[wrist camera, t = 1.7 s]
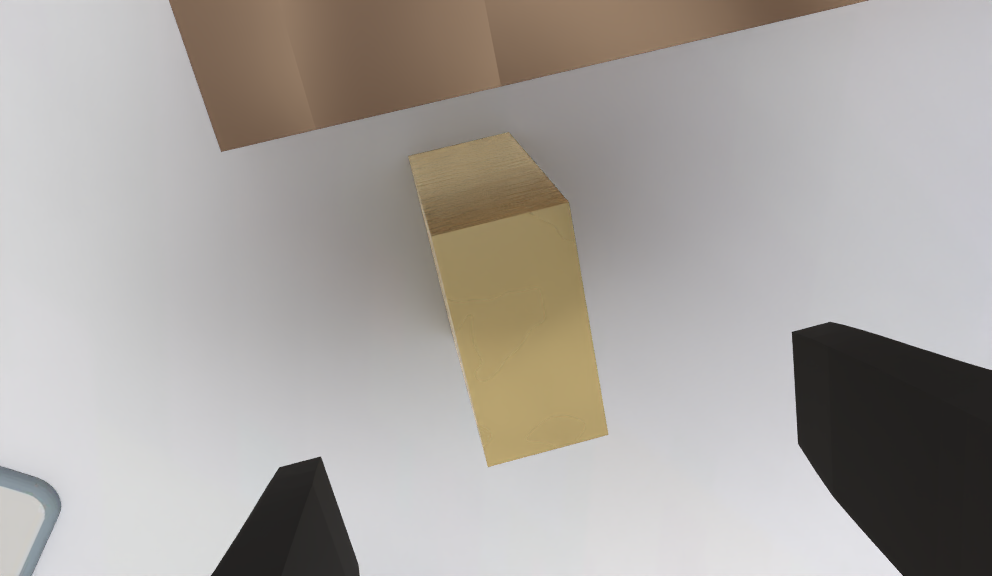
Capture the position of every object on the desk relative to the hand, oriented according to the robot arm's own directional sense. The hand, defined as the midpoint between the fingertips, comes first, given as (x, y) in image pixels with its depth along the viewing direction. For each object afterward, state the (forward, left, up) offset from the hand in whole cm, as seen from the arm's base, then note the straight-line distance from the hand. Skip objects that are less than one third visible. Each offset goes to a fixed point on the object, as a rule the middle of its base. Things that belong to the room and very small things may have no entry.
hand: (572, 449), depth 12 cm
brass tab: (0, 0, -10) cm, 10 cm away
